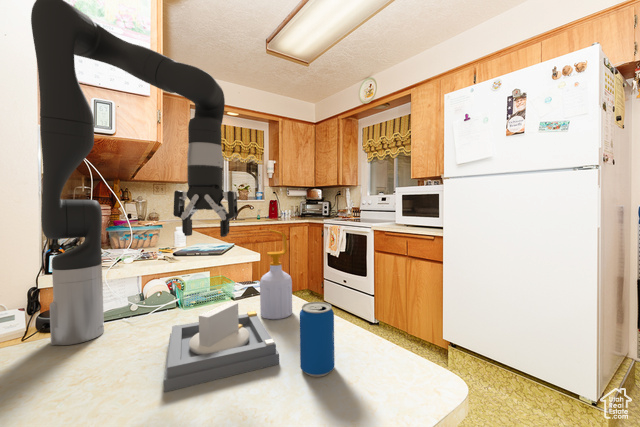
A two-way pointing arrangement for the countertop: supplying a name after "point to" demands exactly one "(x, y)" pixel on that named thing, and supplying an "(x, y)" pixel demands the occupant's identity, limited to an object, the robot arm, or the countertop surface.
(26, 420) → the countertop surface
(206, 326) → the dial knob
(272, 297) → the soap bottle
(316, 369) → the beverage can
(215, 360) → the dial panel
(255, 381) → the countertop surface
